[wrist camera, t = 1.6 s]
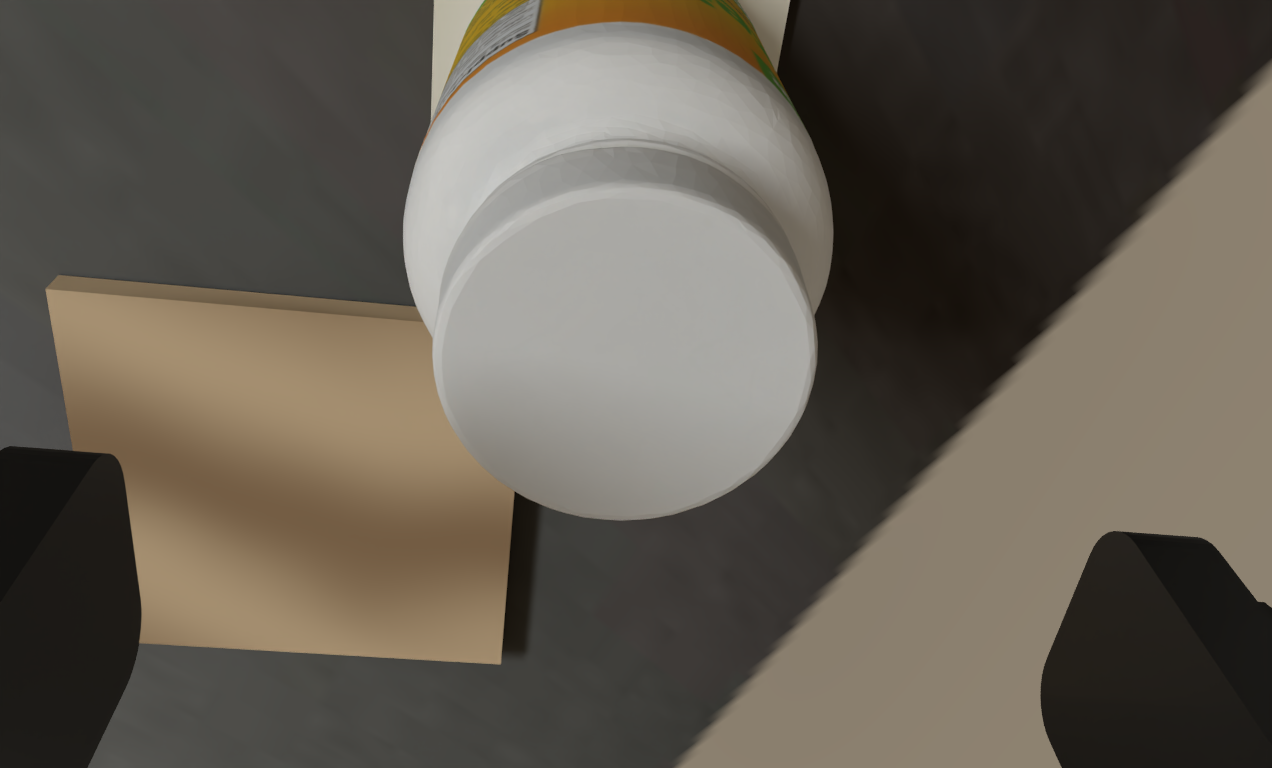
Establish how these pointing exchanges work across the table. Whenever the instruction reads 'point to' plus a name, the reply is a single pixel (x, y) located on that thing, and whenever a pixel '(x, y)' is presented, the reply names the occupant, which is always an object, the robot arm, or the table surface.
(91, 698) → the robot arm
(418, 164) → the supplement bottle
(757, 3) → the tile
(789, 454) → the table surface
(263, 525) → the oak coaster
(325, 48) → the table surface
